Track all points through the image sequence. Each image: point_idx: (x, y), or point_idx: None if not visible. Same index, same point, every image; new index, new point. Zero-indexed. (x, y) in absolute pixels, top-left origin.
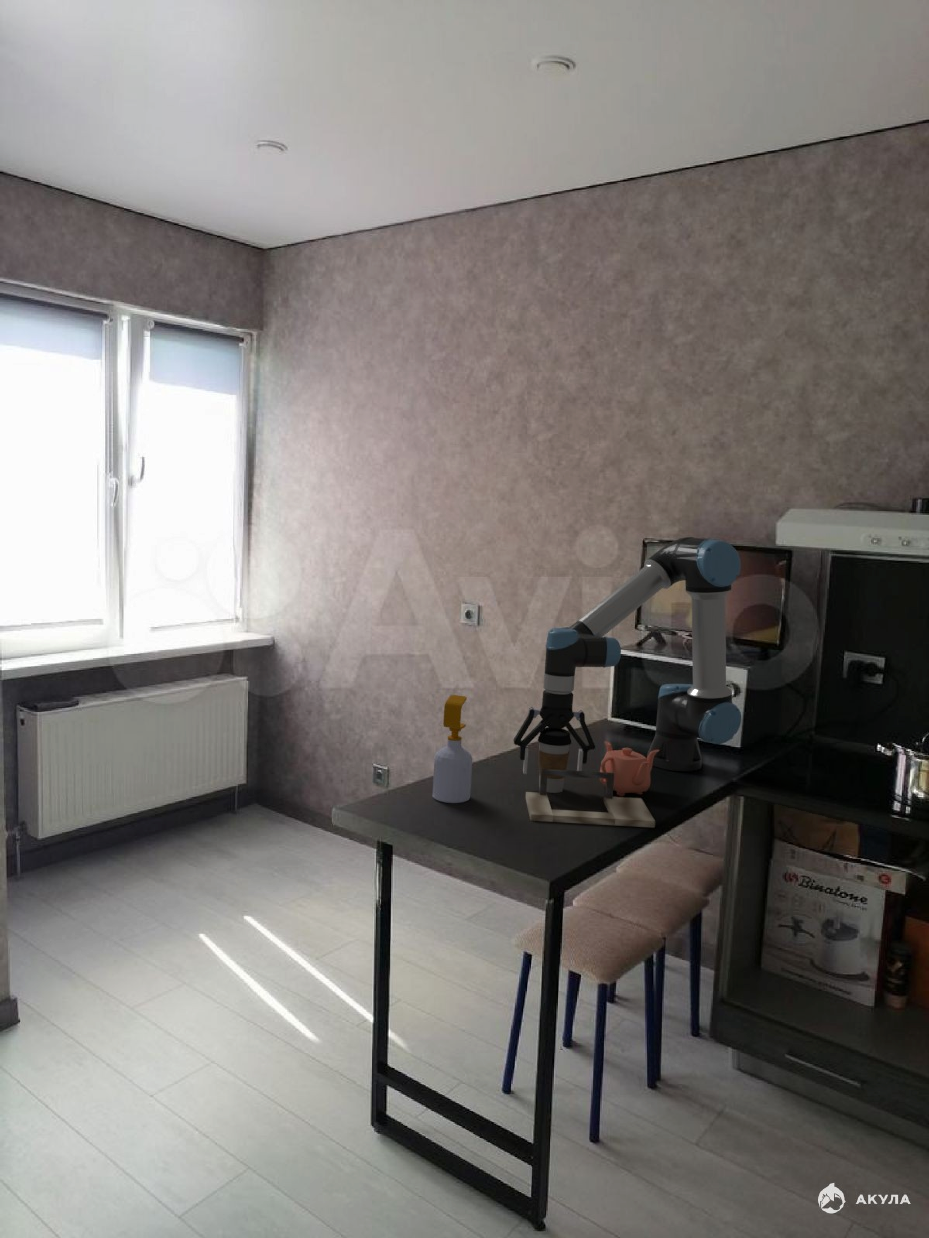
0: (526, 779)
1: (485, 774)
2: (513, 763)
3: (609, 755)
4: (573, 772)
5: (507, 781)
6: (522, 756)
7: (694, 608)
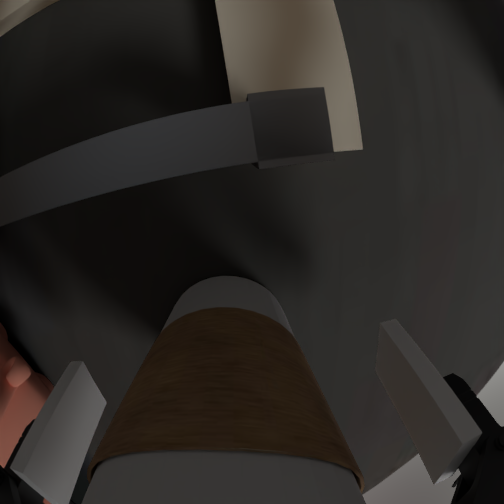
0: (333, 398)
1: None
2: None
3: None
4: (3, 178)
5: None
6: (456, 391)
7: None
